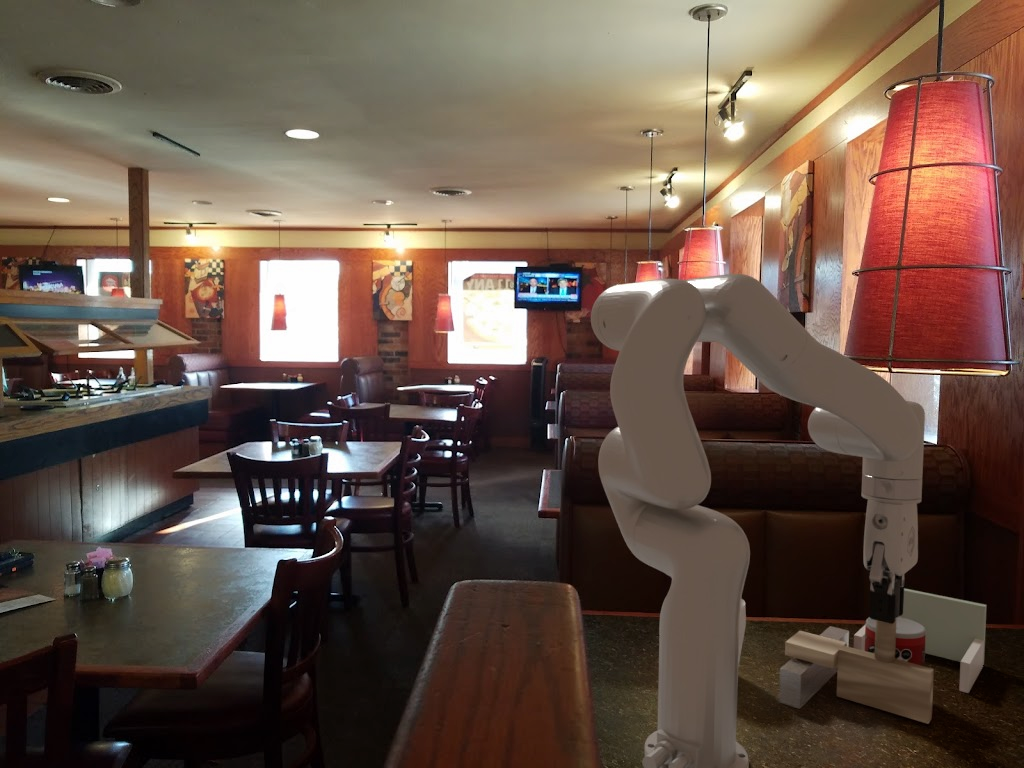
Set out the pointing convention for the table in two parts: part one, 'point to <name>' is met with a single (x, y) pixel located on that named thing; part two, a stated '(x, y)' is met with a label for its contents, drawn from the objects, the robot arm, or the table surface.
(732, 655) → the robot arm
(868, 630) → the canned food
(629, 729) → the table surface
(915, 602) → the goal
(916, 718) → the kicker figure
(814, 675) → the rail
